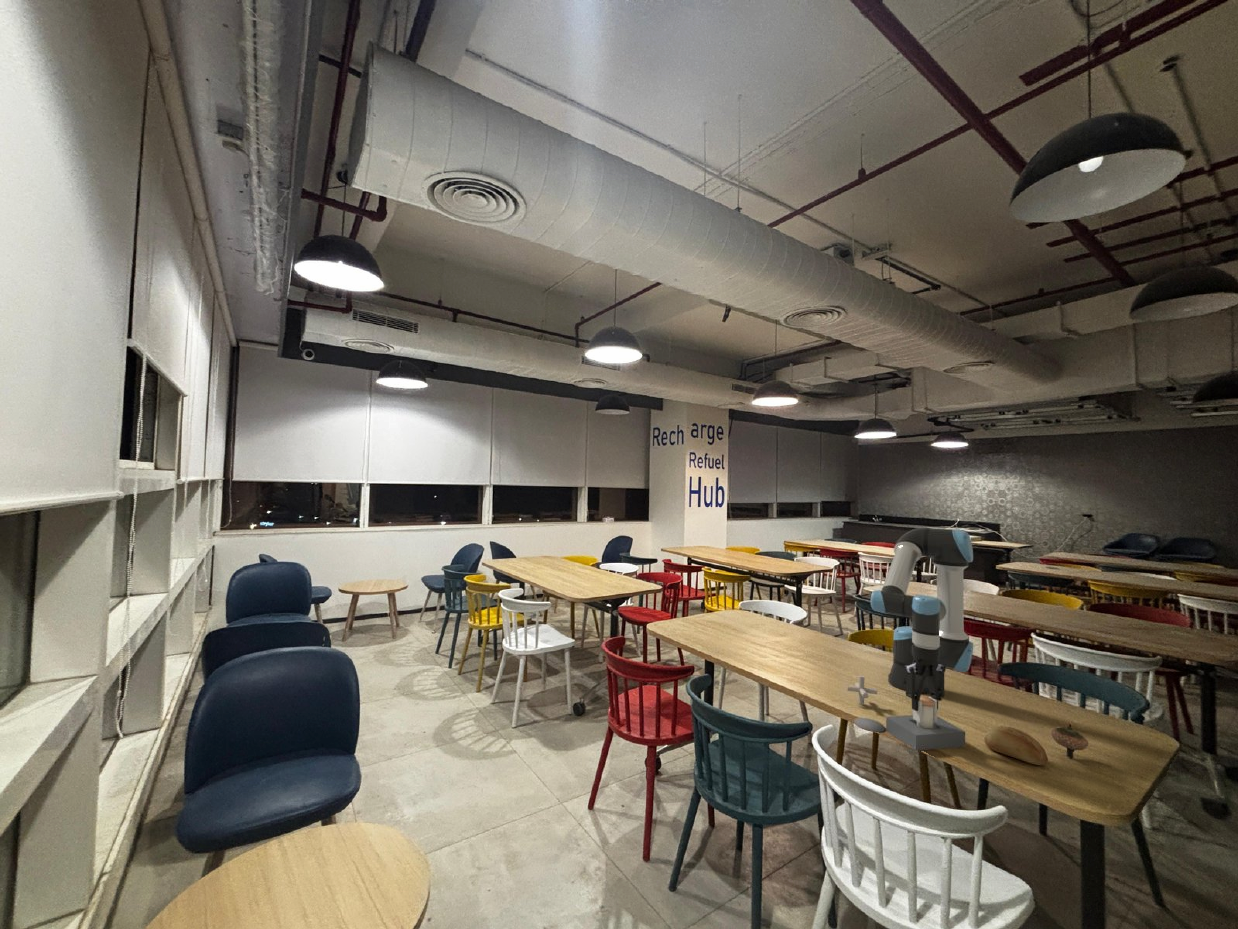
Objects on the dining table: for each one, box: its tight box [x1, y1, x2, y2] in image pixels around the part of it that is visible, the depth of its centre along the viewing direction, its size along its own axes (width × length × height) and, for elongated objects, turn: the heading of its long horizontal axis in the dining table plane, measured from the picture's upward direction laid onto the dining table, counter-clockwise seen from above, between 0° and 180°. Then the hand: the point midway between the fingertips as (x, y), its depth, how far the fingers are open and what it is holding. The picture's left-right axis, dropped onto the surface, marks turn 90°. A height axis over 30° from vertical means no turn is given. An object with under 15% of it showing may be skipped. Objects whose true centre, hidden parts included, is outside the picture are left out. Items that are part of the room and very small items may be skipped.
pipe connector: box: [845, 675, 878, 706], centre depth 178 cm, size 10×10×10 cm
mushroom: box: [917, 695, 934, 729], centre depth 154 cm, size 5×5×12 cm
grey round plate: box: [853, 717, 886, 733], centre depth 161 cm, size 9×9×1 cm
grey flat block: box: [885, 714, 966, 752], centre depth 154 cm, size 18×12×4 cm, turn 102°
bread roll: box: [983, 725, 1049, 766], centre depth 145 cm, size 10×15×8 cm, turn 39°
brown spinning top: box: [1050, 723, 1089, 759], centre depth 146 cm, size 8×8×10 cm
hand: (924, 720), depth 154 cm, fingers closed on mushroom, 5 cm apart
